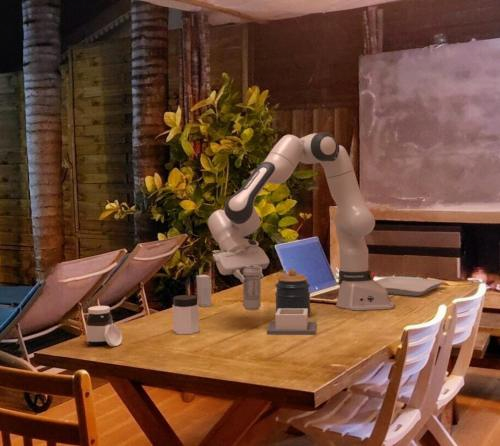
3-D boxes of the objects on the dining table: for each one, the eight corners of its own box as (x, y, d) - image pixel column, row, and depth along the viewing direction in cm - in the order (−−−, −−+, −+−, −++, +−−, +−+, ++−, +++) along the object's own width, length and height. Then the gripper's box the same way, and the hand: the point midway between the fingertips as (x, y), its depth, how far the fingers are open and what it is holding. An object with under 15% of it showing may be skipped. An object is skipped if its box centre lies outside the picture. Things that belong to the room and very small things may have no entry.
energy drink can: (261, 306, 249) (261, 264, 247) (259, 311, 243) (259, 267, 241) (244, 306, 250) (244, 264, 248) (241, 310, 244) (241, 267, 242)
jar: (202, 332, 241) (201, 298, 240) (179, 336, 238) (178, 300, 237) (192, 327, 249) (191, 293, 248) (170, 330, 246) (169, 296, 245)
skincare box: (211, 306, 285) (211, 276, 284) (201, 307, 284) (200, 277, 282) (207, 303, 291) (206, 274, 290) (196, 304, 289) (196, 275, 288)
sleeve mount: (316, 324, 249) (316, 307, 248) (315, 334, 235) (314, 316, 235) (270, 324, 251) (270, 307, 250) (266, 334, 237) (266, 316, 237)
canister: (317, 315, 264) (317, 268, 263) (295, 321, 255) (294, 272, 253) (290, 310, 273) (290, 265, 271) (268, 316, 264) (267, 269, 262)
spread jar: (92, 339, 236) (91, 304, 235) (126, 339, 235) (125, 304, 234) (83, 349, 224) (81, 312, 223) (118, 348, 223) (117, 312, 222)
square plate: (388, 283, 329) (387, 275, 328) (445, 289, 313) (445, 280, 312) (361, 293, 307) (361, 284, 307) (421, 299, 291) (421, 290, 291)
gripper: (214, 246, 243) (232, 277, 236) (260, 240, 256) (279, 270, 249) (207, 258, 247) (224, 289, 240) (253, 251, 260) (271, 281, 253)
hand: (252, 279), depth 245 cm, fingers closed on energy drink can, 6 cm apart
